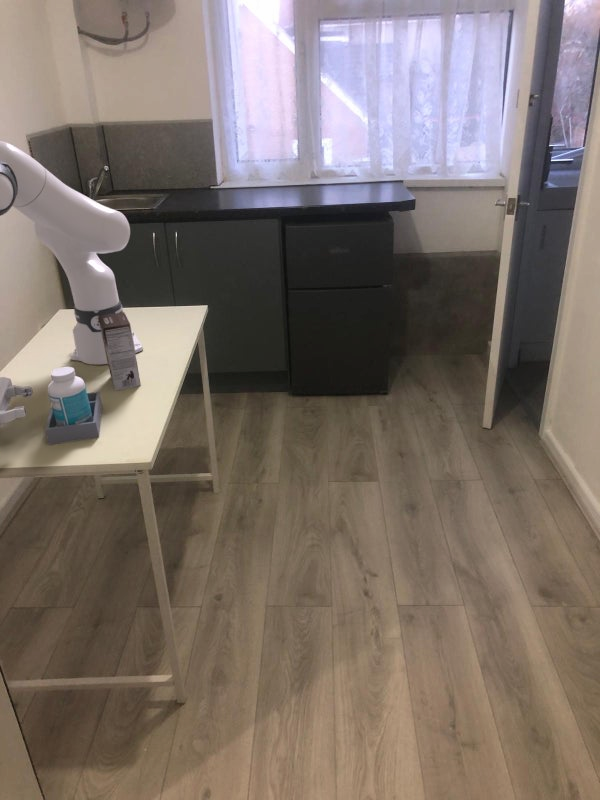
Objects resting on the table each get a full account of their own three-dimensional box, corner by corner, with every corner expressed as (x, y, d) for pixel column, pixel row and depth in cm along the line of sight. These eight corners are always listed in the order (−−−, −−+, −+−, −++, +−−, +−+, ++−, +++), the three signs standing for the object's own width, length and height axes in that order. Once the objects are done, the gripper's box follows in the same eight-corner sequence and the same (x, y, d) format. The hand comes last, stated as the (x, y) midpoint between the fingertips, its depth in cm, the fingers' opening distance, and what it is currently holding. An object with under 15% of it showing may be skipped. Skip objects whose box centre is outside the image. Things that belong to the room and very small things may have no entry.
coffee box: (109, 376, 161) (97, 315, 154) (135, 371, 163) (124, 311, 156) (114, 391, 153) (101, 327, 146) (141, 385, 155) (130, 322, 148)
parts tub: (56, 411, 146) (53, 397, 144) (102, 405, 147) (99, 391, 146) (49, 444, 133) (45, 429, 131) (99, 437, 134) (95, 422, 133)
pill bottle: (98, 418, 142) (85, 362, 135) (89, 436, 135) (76, 377, 129) (63, 420, 142) (50, 364, 135) (53, 438, 135) (38, 380, 129)
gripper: (-62, 421, 120) (16, 410, 123) (-36, 376, 138) (31, 367, 141) (-52, 450, 123) (24, 438, 126) (-28, 402, 141) (38, 393, 144)
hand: (28, 400), depth 133 cm, fingers open, 8 cm apart
